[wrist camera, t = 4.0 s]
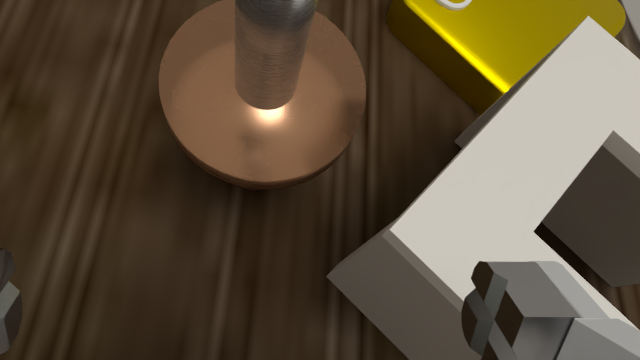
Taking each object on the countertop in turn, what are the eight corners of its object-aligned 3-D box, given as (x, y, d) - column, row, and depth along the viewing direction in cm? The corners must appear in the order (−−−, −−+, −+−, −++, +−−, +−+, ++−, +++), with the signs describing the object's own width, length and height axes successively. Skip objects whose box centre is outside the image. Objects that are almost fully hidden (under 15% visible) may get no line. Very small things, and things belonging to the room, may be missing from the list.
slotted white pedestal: (500, 451, 33) (700, 530, 19) (325, 276, 35) (389, 229, 21) (619, 275, 38) (845, 235, 24) (463, 131, 40) (588, 15, 26)
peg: (253, 265, 34) (304, 65, 10) (152, 163, 35) (-31, -251, 11) (351, 170, 37) (573, -160, 13) (256, 79, 38) (298, -384, 14)
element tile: (507, 145, 41) (541, 120, 36) (374, 21, 42) (391, -17, 38) (601, 42, 46) (641, 9, 41) (479, -65, 47) (504, -108, 43)
